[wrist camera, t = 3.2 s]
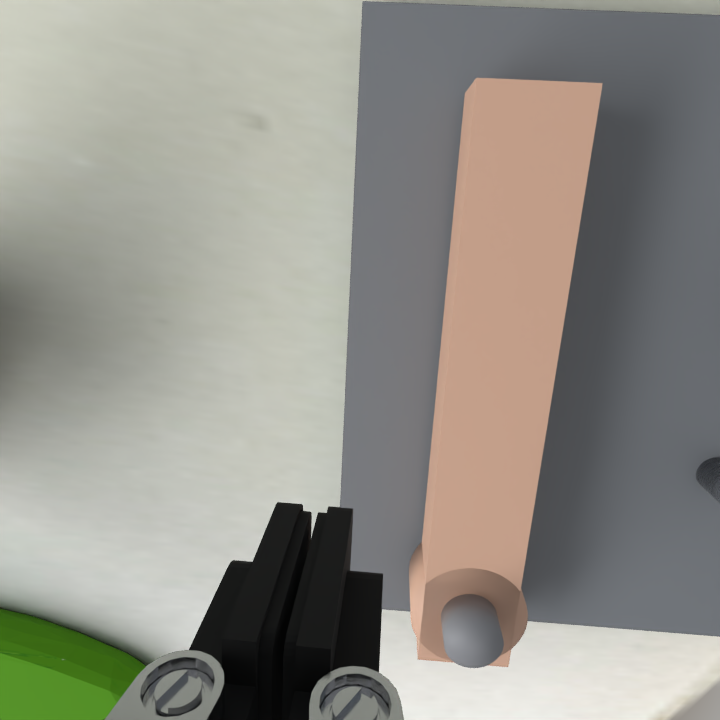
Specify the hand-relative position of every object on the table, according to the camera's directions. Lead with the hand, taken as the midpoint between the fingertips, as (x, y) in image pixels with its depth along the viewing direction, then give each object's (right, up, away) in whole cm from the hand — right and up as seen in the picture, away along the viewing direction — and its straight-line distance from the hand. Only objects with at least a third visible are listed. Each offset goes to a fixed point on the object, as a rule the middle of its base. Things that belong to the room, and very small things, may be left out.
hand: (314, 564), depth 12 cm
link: (+6, +3, +12) cm, 14 cm away
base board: (+10, +5, +13) cm, 18 cm away
